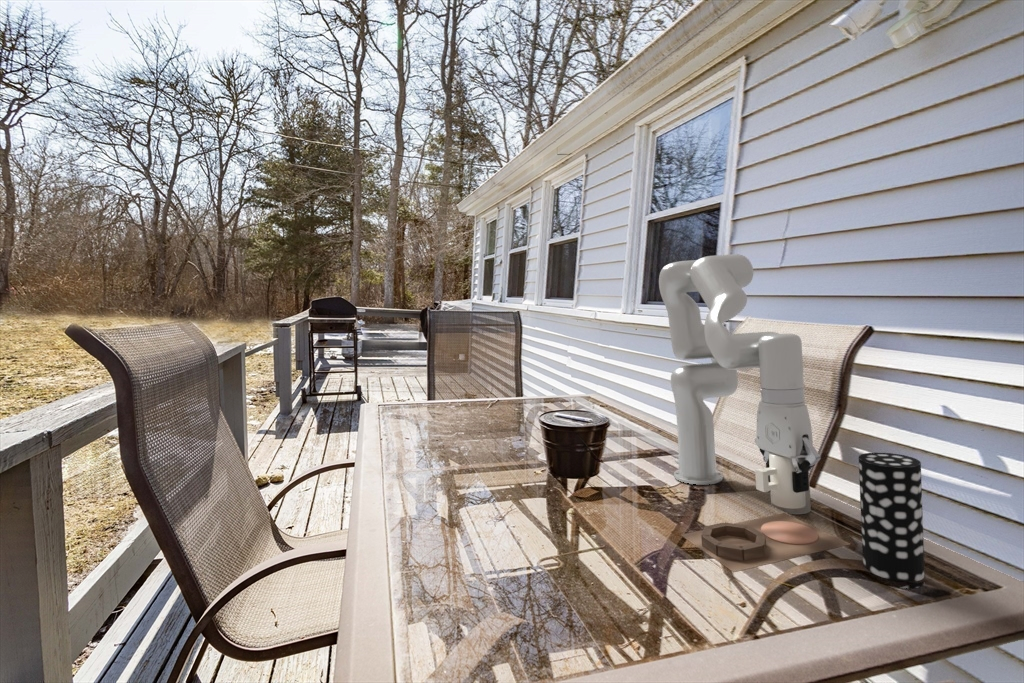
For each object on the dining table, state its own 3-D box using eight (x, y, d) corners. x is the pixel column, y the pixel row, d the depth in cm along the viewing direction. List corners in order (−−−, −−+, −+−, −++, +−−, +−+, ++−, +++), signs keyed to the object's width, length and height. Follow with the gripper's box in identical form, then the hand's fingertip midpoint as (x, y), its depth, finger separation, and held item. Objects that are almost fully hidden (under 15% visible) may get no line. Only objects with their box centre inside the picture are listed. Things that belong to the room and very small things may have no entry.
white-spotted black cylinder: (911, 565, 86) (907, 453, 85) (934, 591, 79) (930, 468, 78) (856, 560, 89) (851, 452, 88) (872, 585, 81) (868, 466, 80)
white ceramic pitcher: (793, 494, 102) (791, 447, 102) (818, 504, 97) (815, 453, 96) (749, 503, 100) (747, 454, 99) (772, 513, 94) (769, 461, 94)
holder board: (680, 540, 102) (679, 525, 102) (784, 518, 108) (783, 503, 108) (733, 578, 86) (732, 560, 86) (851, 550, 93) (850, 533, 93)
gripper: (736, 393, 105) (741, 476, 106) (802, 404, 88) (808, 503, 89) (765, 389, 107) (770, 471, 108) (836, 400, 90) (841, 497, 91)
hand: (787, 485), depth 98 cm, fingers closed on white ceramic pitcher, 6 cm apart
